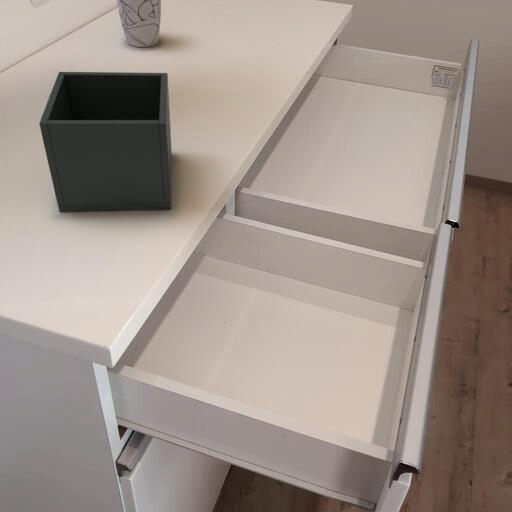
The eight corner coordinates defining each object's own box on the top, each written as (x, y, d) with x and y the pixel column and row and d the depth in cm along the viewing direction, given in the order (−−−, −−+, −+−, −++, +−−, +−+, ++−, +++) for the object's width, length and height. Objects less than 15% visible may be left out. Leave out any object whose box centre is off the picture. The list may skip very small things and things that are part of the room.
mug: (107, 33, 112) (100, -19, 105) (144, 27, 116) (140, -24, 109) (133, 52, 105) (128, -3, 98) (171, 45, 109) (168, -9, 103)
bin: (59, 212, 67) (39, 123, 59) (74, 154, 77) (58, 71, 69) (171, 209, 68) (166, 123, 61) (171, 153, 79) (167, 72, 71)
